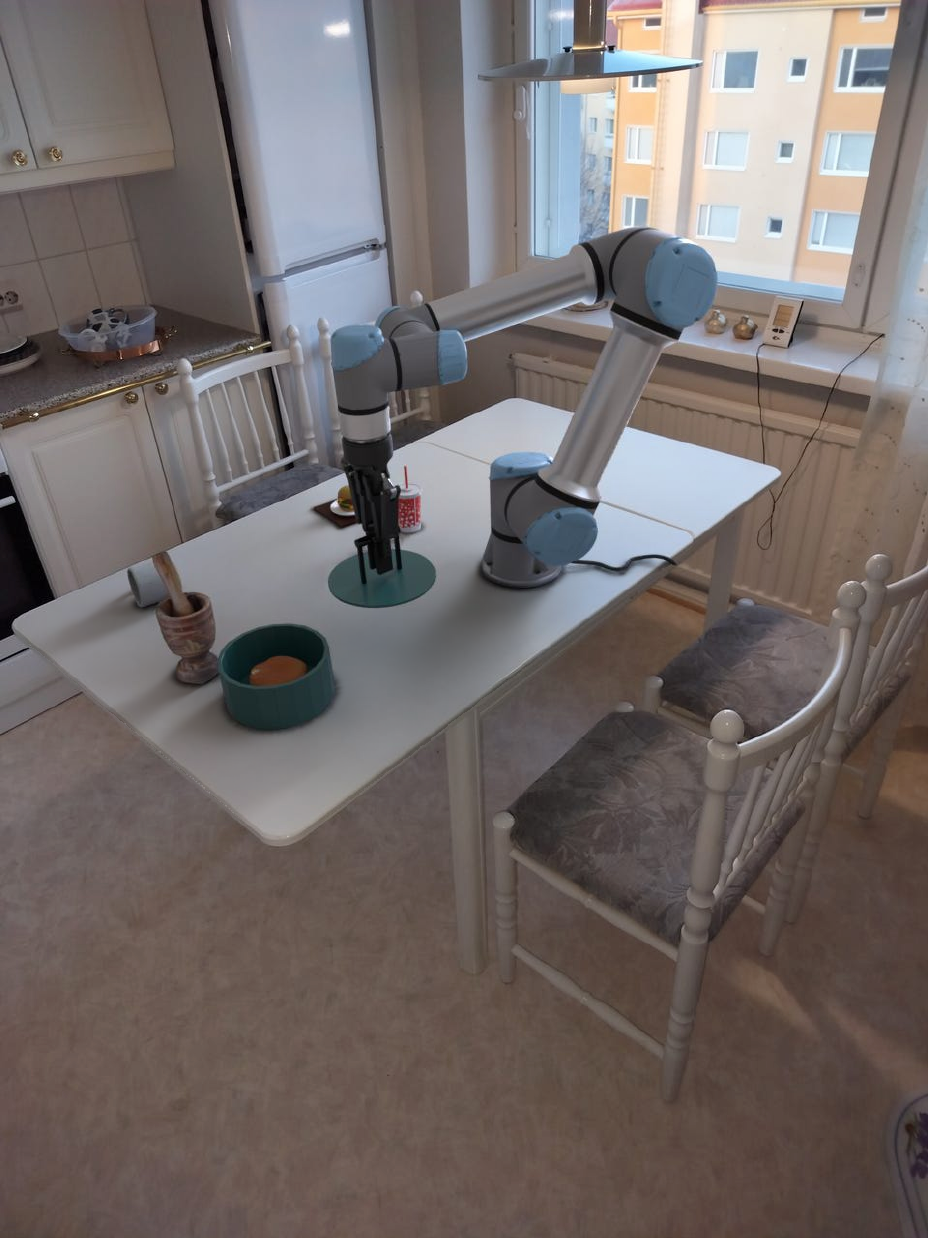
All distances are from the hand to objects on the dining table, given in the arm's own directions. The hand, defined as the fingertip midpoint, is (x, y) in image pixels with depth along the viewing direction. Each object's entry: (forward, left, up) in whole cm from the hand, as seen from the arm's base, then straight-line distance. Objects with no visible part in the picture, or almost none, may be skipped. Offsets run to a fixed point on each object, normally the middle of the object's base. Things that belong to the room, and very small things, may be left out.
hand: (381, 568), depth 143 cm
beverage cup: (+14, -38, -14) cm, 43 cm away
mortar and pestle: (+27, +19, -14) cm, 36 cm away
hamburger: (+30, -41, -14) cm, 53 cm away
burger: (+9, +20, -14) cm, 26 cm away
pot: (+9, +20, -14) cm, 26 cm away
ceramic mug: (+48, +3, -14) cm, 50 cm away
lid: (0, 0, -2) cm, 2 cm away
